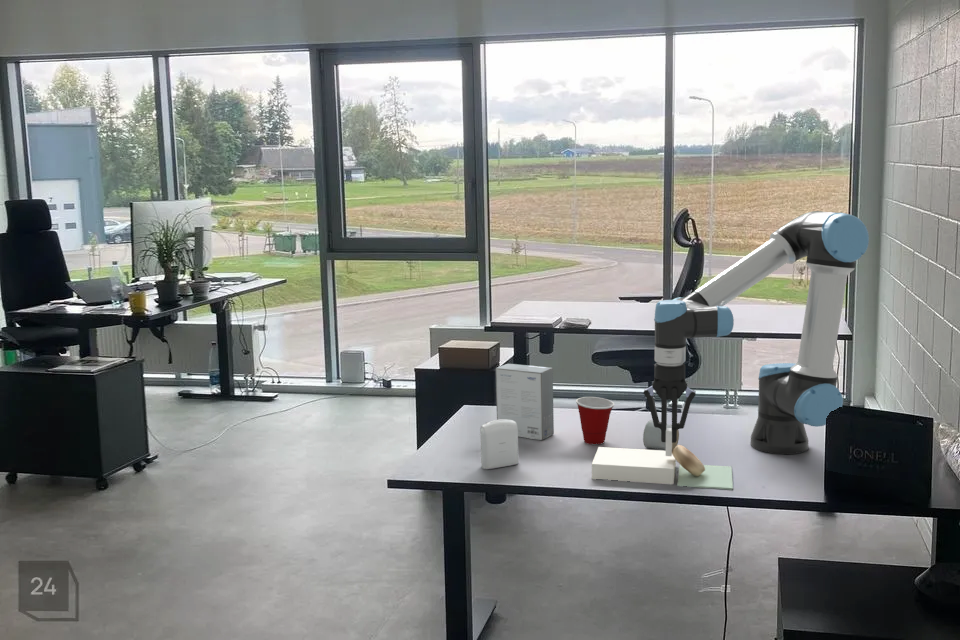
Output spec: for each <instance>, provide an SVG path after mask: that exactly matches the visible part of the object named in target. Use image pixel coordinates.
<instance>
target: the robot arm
mask: <svg viewBox="0 0 960 640" xmlns="http://www.w3.org/2000/svg"><path fill="white" fill-rule="evenodd" d="M869 242H870V235H869V231H868V229H867V225H865V224H864V222H863V221H862V220H861V219H860V218H859V217H857V216H855V215H853V214H850V213H845V212H842V211H841V212H833V211H832V212H831V211H823V210H822V211H821V210H820V211H819V210H811V211H809V212H806V213H805V212H804V213H803V214H801V215H799V216H797V217H795V218H794V219H792V220H790V221H789V222H787V223H785V224H784V225H783V226H781V227H779V228H778V229H776V230H775V231H774V232H772V233H771V234H770V235H769V240H767V241H766V242H764V243H762V244H761V245H760V246H758V247H757V248H756V249H754V250H753V251H752V252H750V253H748V254H747V255H745V256H744V257H742V258H741V259H739V260H737V262H735V263H733V264H732V265H730V266H729V267H727V268H726V269H725V270H723V271H721V272H720V273H719V274H717V275H716V276H715V277H713V278H711V279H710V280H709V281H707V282H706V283H704V284H703V285H702V286H700V287H698V288H697V289H695V290H694V291H693V292H691V293H689V294H688V295H687V296H685V297H681V296H680V297H675V298H673V299H663V300H660V301H658V302H656V305H655V310H654V319H653V320H654V362H655V363H654V364H653V365H654V368H653V369H654V375H653V377H654V380H653V382H652V384H651V386H649V387H645V388H644V390H643V396H644V397H645V398H646V400H647V402H648V406H649V411H650V415H651V418H652V419H651V420H653V424H654V427H656V428H660V429H661V441H662V442H666V456H672V443H676V441H677V430H680V429H681V430H682V429H684V428H685V425H686V421H687V417H688V415H689V412H690V408H691V402H692V401H693V399H694V398H695V397H696V390H695V389H691V388H690V387H689V386H688V384H687V381H686V364H685V362H686V359H687V358H686V355H687V354H686V352H687V348H686V347H687V346H686V345H687V339H694V338H695V339H698V338H701V339H702V338H720V337H724V336H728V335H730V334H731V333H732V331H733V329H734V322H735V321H734V320H735V319H734V314H733V312H732V310H731V309H730V307H728V306H727V304H728V303H730V302H731V301H733V300H735V298H737V297H738V296H741V294H743V293H745V292H746V291H747V290H749V289H751V288H752V287H753V286H755V285H756V284H758V283H759V282H761V281H762V280H764V279H765V278H767V277H768V276H769V275H771V274H772V273H774V272H775V271H777V270H778V269H780V268H782V267H783V266H784V265H786V264H790V265H792V264H794V263H796V262H797V261H799V260H800V259H804V258H806V261H805V263H806V265H807V267H808V268H809V270H810V272H811V273H810V278H809V285H808V291H807V297H806V298H807V299H806V303H805V305H806V306H805V311H804V318H803V324H802V328H801V329H802V332H801V336H800V343H799V349H798V350H799V351H798V357H797V361H796V363H790V362H789V363H786V362H785V363H784V362H783V363H782V362H781V363H780V362H779V363H769V364H768V363H767V364H765V365H762V366H761V367H760V368H759V374H758V399H757V400H758V401H757V402H758V404H757V405H758V406H757V407H758V408H757V409H758V410H757V412H758V413H757V419H756V422H755V423H754V427H753V430H752V432H751V436H750V446H751V447H753V448H754V449H755V450H758V451H760V452H765V453H769V454H776V455H777V454H778V455H794V454H795V455H796V454H801V453H804V452H807V451H808V450H809V437H808V435H807V430H806V427H805V425H808V426H810V427H814V428H815V427H819V428H820V427H824V426H827V425H826V418H827V416H828V415H829V413H830V412H831V411H834V410H835V409H837V408H839V407H842V408H843V405H844V398H843V394H842V393H841V391H840V390H839V388H838V387H837V382H838V373H837V372H836V371H835V369H834V368H833V367H834V362H835V361H834V360H835V355H836V350H837V344H838V343H837V342H838V335H839V329H840V323H841V317H842V311H843V304H844V297H845V291H846V285H847V280H848V279H847V278H848V276H849V274H850V273H852V272H853V271H854V270H856V263H857V260H859V259H860V258H862V256H863V255H865V254H866V252H867V250H868V247H869ZM654 392H655V393H656V394H657V396H658V397H659V398H660V399H661V402H660V403H661V404H660V405H661V407H660V408H661V409H660V410H661V411H660V412H661V416H660V417H661V420H660V419H659V416H658V412H657V408H656V403H655V399H654V394H655V393H654ZM684 393H685V397H686V399H685V402H684V406H683V409H682V412H681V413H682V414H681V416H680V420H679V422H678V400H679V399H680V398H681V396H682V395H684ZM669 400H670V401H671V425H672V428H666V426H667V424H668V422H667V419H668V418H667V417H668V416H667V415H668V401H669Z"/></svg>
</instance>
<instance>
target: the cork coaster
mask: <svg viewBox="0 0 960 640" xmlns="http://www.w3.org/2000/svg"><path fill="white" fill-rule="evenodd" d="M672 454H673V456H674V458H675V459H676V462H677V463H678V464H679V466H680V465H681V466H682V467H683V468H684V469H686V470H687V471H688V472H690V473H691V474H693V475H695V476H700V475H701V474H702V473H703V472H704V471H705V467H704V465H705V464H703V463H702V461H701V460H700V459H699V458H698V457H697V456H696V455H695V454H694V453H693V452H692V451H691V450H689V449H688V448H686V447H685V446H684V445H682V444H677V446H676V447H675V448H674V449H673V450H672Z"/></svg>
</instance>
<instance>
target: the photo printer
mask: <svg viewBox="0 0 960 640" xmlns="http://www.w3.org/2000/svg"><path fill="white" fill-rule="evenodd" d="M479 431H480V432H479V433H480V434H479V435H480V436H479V437H480V461H481V462H480V463H481V465H480V466H481V468H482V469H483V470H491V469H497V468H503V467H510V466H515V465H518V464H519V437H518V428H517V424H516V422H514V421H513V420H507V419H500V420H497V419H494V420H491V421H488V422H485V423H483V424H482V425H480V429H479Z"/></svg>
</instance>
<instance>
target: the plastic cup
mask: <svg viewBox="0 0 960 640" xmlns="http://www.w3.org/2000/svg"><path fill="white" fill-rule="evenodd" d="M575 402H576V405H577V409H578V414H579V420H580V427H581V428H580V429H581V431H582V437H583V441H584V443H585V444H587V445H592V444H598V445H602V444H601V443H603V442H604V443H605V441H606V436H607V431H608V426H609V421H610V417H611V413H612V409H613V408H614V406H615V402H614V401H612V400H610V399H607V398H603V397H598V396H597V397H596V396H583V397H579V398H576V399H575ZM604 443H603V444H604Z"/></svg>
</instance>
